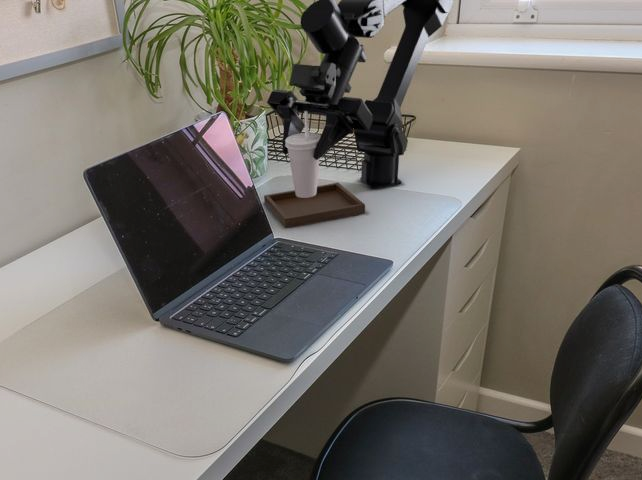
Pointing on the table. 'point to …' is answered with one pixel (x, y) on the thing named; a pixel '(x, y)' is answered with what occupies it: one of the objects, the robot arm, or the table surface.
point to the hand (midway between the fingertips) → (299, 155)
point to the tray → (314, 205)
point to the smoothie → (304, 161)
